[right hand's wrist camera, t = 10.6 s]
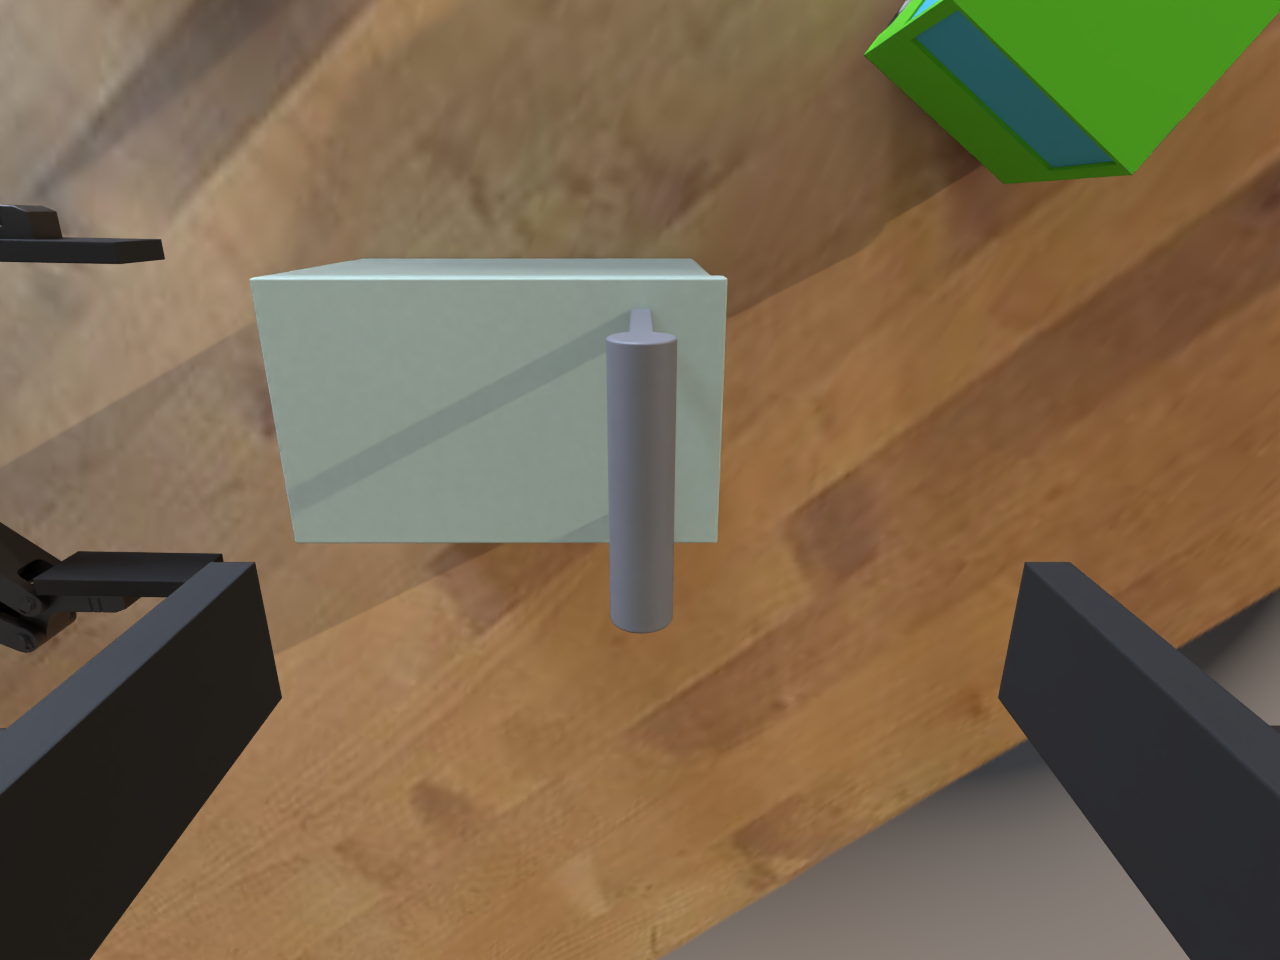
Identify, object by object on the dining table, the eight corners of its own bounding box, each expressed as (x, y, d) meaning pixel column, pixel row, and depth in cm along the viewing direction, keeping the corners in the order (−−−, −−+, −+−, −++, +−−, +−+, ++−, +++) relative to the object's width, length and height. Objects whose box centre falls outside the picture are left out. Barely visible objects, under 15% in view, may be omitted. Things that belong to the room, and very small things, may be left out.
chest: (692, 258, 34) (711, 275, 25) (687, 455, 37) (703, 531, 29) (361, 258, 34) (264, 275, 25) (386, 455, 37) (307, 531, 29)
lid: (724, 275, 25) (765, 306, 17) (714, 531, 28) (744, 660, 20) (263, 275, 25) (84, 306, 17) (307, 532, 28) (174, 661, 20)
